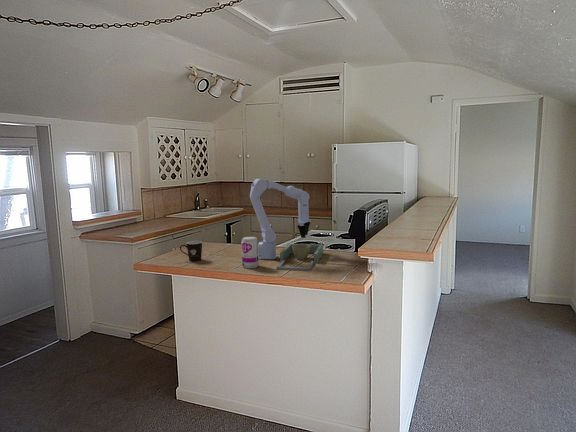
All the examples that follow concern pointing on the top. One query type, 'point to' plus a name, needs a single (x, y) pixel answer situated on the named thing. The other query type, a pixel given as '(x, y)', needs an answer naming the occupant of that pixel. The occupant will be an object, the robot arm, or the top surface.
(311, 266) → the edging
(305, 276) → the top surface
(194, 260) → the coffee mug
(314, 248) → the cold frame
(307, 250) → the flower pot
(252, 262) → the supplement can
